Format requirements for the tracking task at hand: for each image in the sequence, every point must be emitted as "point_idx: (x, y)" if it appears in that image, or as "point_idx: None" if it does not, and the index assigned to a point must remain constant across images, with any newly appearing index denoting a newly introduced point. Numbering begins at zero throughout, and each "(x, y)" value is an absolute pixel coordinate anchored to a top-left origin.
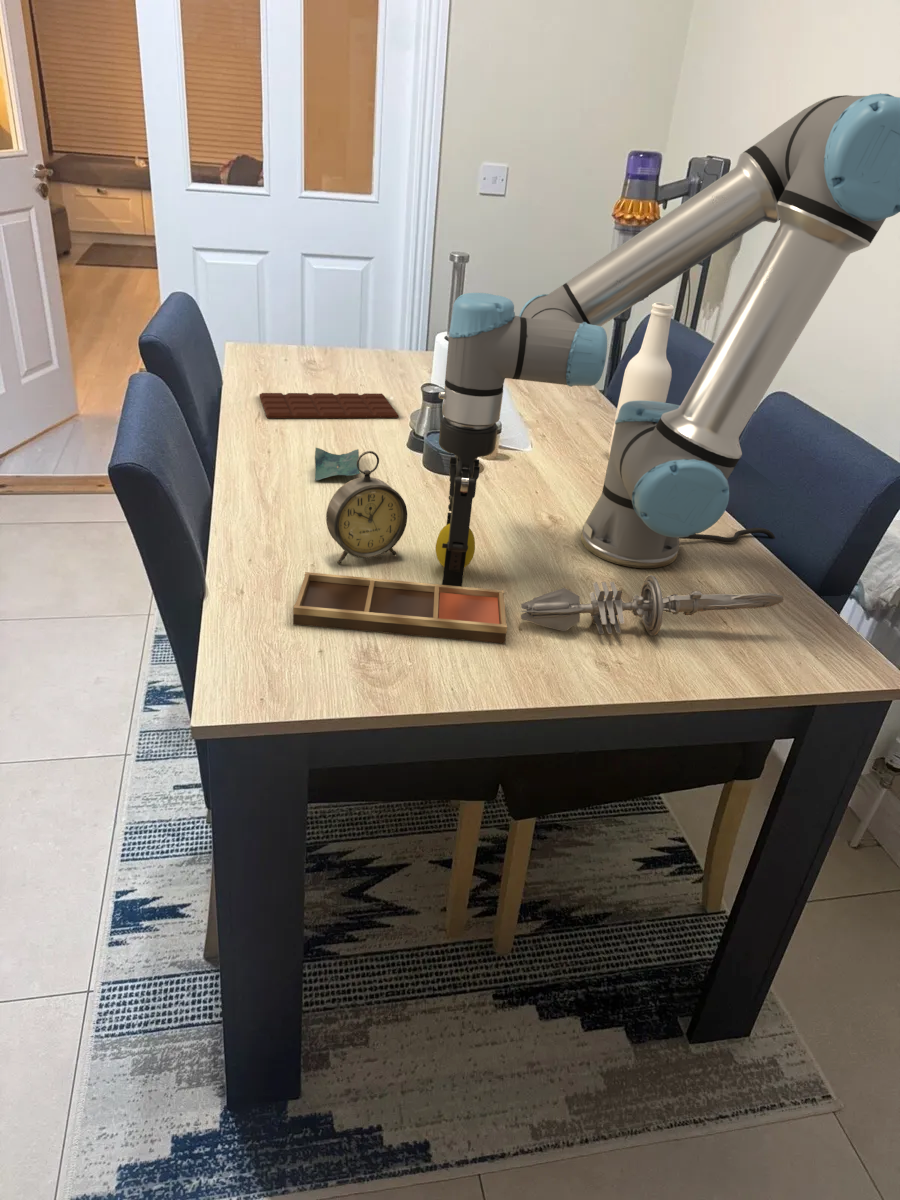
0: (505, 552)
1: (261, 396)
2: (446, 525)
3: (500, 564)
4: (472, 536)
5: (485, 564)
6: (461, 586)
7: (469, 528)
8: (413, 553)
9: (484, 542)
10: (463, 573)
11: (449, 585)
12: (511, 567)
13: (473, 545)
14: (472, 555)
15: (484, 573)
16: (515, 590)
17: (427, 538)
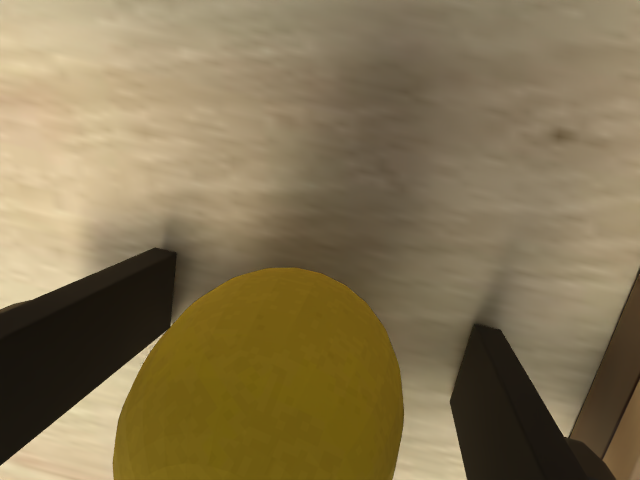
0: (100, 9)
1: None
2: None
3: (226, 65)
4: (294, 377)
5: (232, 147)
6: (506, 341)
7: (212, 421)
8: None
9: (22, 105)
10: (531, 383)
11: (630, 472)
12: (254, 6)
13: (337, 334)
14: (351, 300)
15: (321, 172)
16: (512, 33)
17: None
